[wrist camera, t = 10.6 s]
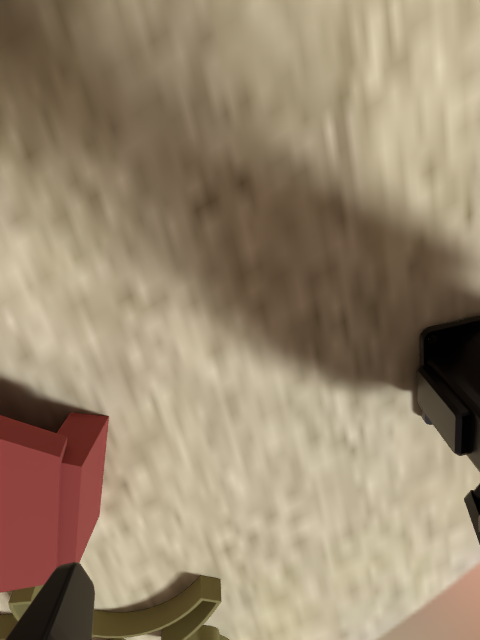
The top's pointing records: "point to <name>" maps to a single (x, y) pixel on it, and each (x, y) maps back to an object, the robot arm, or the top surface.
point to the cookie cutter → (142, 615)
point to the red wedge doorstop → (48, 495)
